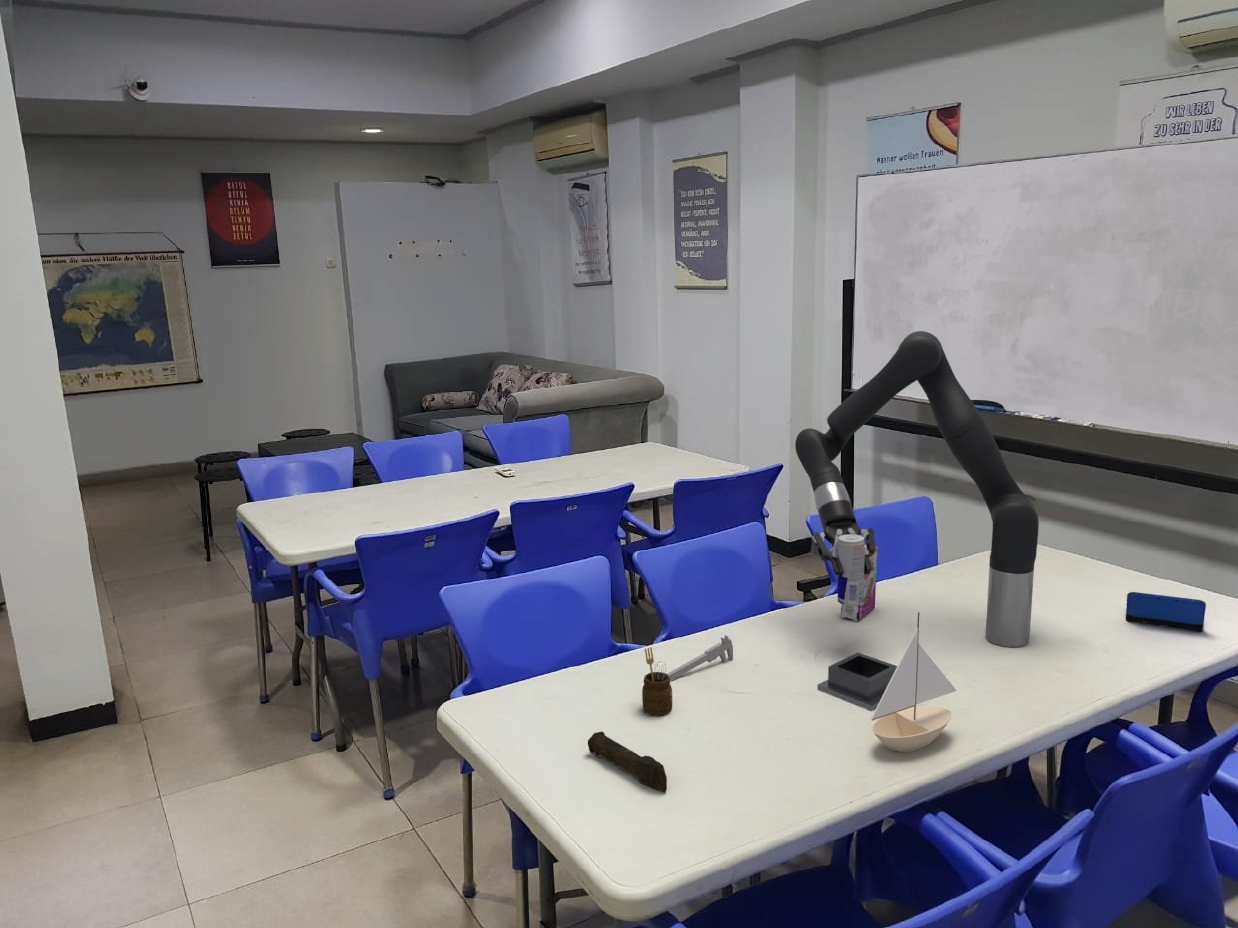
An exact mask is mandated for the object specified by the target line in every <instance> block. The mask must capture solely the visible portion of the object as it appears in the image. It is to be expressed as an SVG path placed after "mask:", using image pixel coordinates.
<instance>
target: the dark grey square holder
mask: <svg viewBox="0 0 1238 928" xmlns="http://www.w3.org/2000/svg"><path fill="white" fill-rule="evenodd" d="M897 666H898V665H896V664H892V663H889V662H888V661H887V662H886V661H885V660H880V659H878V658H875V657H874V656H873V657H872V656H870V655H867V654H863V653H860V652H855V653H853V654H851V655H849V656H847V657H845V658H843V659H842V660H839V661H837V662H834V663H832V664H831V665H829V666H828V669H827V677H828V678H827V679H826V680H824V681H821V683H818V684H817V690H818V691H822V693H823V692H824V693H826V694H828V695H831V696H834V697H836V698H837V699H838V698H839V699H841V700H844V701H846V702H849V703H851V704H853V705H857V706H859V707H861V708H864V709H866V710H869V711H871V712H872V711H873V710H874V711H875V710H876V708H877V706H878V704H879V702H880V700H881V698H882V696H883V694H884V692H885V690H886V688H887V686H888V684H889V682H890V680H891V678H892V676H893V674H894V672H895V670H896V668H897Z"/></svg>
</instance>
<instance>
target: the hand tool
mask: <svg viewBox="0 0 1238 928" xmlns="http://www.w3.org/2000/svg"><path fill="white" fill-rule="evenodd" d="M587 747H588V751H589V753H590V754H594V755H595V757H602V758H603V759H605V760H607V761H609V762H610V763H612V764H614V766H617V767H619V768H620V769H622V770H624V771H626V772H628V773H629V774H630V775H632V776H634V777H636V779H637V780H638V783H639V784H641V785H643V786H645V787H647V788H650V789H653V790H657V791H660V792H662V793H663V792H664V793H665V792H667V789H668V788H667V787H668V786H667V784H668V777H667V774H666V771H665V767H664V765H663V764H662V763H661V762H660V761H657V760H656V759H655V758H654V757H653V756H650V755H643V756H641V755H639V754H638V753H635V752H634V751H633V750H631V749H629V748H627V747H625V746H623V745H622V744H621V743H619V742H617V741H615V740H613V739H612V738H610V737H609V736H607V735H606V734H605V732H604V731H598V732H597V731H596V732H594V733H593V734H592V735H591V737H589V739H588V740H587Z"/></svg>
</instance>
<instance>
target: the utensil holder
mask: <svg viewBox="0 0 1238 928" xmlns="http://www.w3.org/2000/svg"><path fill="white" fill-rule="evenodd" d="M644 653H645V661H646V664H647V665H649V670H650V672H649V673H647V674H645V675H644V678H643V686H642V689H641V690H642V691H641V693H642V695H641V696H642V697H641V698H642V699H641V701H642V710H643V712H644V713H645V714H647V715H649V716H652V717H663V716H666V715H668V714H670V713H671V711H672V709H673V690H672V689H673V687H672V685H671V681H670V677H669V675H668V674H667V672H665V671H664V670H667V665H666V663H665V662H663V661H657V662H656V663H655V664H654V662H655V659H654V652H653V648H652V646H650V647H647V648H644ZM653 664H654V665H655V666H656V667H654V669H653V666H652V665H653ZM659 665H663V666H664V668H665V669H664V668H661V670H660V671H657V668H659V669H660V666H659ZM658 666H659V667H658ZM653 670H654V671H653Z"/></svg>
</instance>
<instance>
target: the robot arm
mask: <svg viewBox="0 0 1238 928" xmlns="http://www.w3.org/2000/svg"><path fill="white" fill-rule="evenodd" d="M916 381H917V383H918V384H919V385H920V387H921V388H922V390H923V392H924V394H925V395H926V397H927V399H928V402H929V405H930V408H931V410H932V413H933V418H934V419H935V422H936V425H937V427H938V429H939V432H940V434H941V436H942V438H943V440H944V442H945V443H946V445H947V447H948V449H949V450H950V452H951V454H952V455H953V456H954V458H955V460H956V461H957V463H958V464H959V465H960V467H962V469H963V470H964V471H965V473H967V474H968V476H969V477H970V478H971V480H973V482H974V483H975V484H976V486H977V489H978V490H979V491H980V493H981V496H982V497H983V500H984V503H985V504H986V506H987V508H988V509H987V510H988V513H989V514H990V517H991V521H992V533H991V549H990V555H989V563H988V564H989V566H988V585H987V586H988V587H987V588H988V589H987V601H986V602H987V603H986V619H985V622H986V623H985V635H984V636H985V639H986V640H987V641H988V642H989V643H992V644H994V645H998V646H1002V647H1007V648H1009V647H1010V648H1019V647H1024V646H1027V645H1029V643H1030V637H1031V624H1032V623H1031V621H1032V610H1033V609H1032V608H1033V606H1032V605H1033V592H1034V591H1033V589H1034V573H1035V562H1036V559H1037V554H1038V553H1037V552H1038V551H1037V549H1038V540H1039V539H1038V538H1039V529H1040V527H1039V525H1040V523H1039V516H1038V514H1037V511H1036V508H1035V506H1034V505H1033V503H1032V502H1031V501H1030V500H1029V498H1028V497H1027V496H1026V495H1025V493H1024V492H1023V491H1022V489H1021V488H1020V487H1019V485H1018V484H1017V482H1016V481H1015V479H1014V478H1013V477H1012V475H1011V473H1010V472H1009V470H1008V468H1007V466H1006V463H1005V461H1004V458H1003V455H1002V454H1001V451H1000V448H999V446H998V444H997V442H996V440H995V437H994V436H993V433H992V432H991V430H990V428H989V427H988V425H987V423H986V422H985V420H984V418H983V416H982V415H981V413H980V412H979V410H978V409H977V407H976V406H975V404H974V402H973V401H972V399H971V398H970V396H969V395H968V394H967V392H966V391H965V389H964V388H963V386H962V385H961V383H960V382H959V381H958V379H957V378H956V376H955V373H954V371H953V370H952V367H951V365H950V363H949V360H948V357H947V356H946V352H945V351H944V349H943V345H942V343H941V342H940V340H939V338H937V336H935V335H934V334H932V333H931V332H928V331H923V330H920V331H919V330H917V331H914V332H911V333H910V334H908V335H907V336H905V338H903V340H902V341H901V342H900V344H899V345H898V348H897V350H896V351H895V353H894V354H893V355H892V356H891V358H890V359H889V361H888V362H887V363H885V365H884V366H883V367H882V368H881V369H880V370H879V371H878V373H877V374H875V375H874V376H873V377H872V378H871V379H870V380H868V381H867V382H865V384H863V385H862V386H860V388H858V389H857V390H855V391H854V392H852V394H851V395H850V396H848V397H847V398H846V399H844V401H842V403H841V404H839V405H838V406H837V407H835V409H834V410H833V411H832V412H830V413H829V415H828V416H827V418H826V422H827V425H828V426H829V429H828V430H827V431H826V432H825V433H823V432H821V431H819V430H818V429H815V428H804V429H803V430H801V431H800V432H799V433H798V434H797V436H796V438H795V442H794V443H795V444H794V447H795V453H796V455H797V458H798V461H800V464H801V465H802V467H803V469H804V471H805V473H806V474H807V476H808V477H809V481H810V484H811V488H812V491H813V494H814V501H815V508H816V510H817V513H818V516H819V520H820V523H821V527H822V529H823V532H819V531H816V532H814V533H813V536H812V538H811V542H812V543H813V546H814V547H815V549H816V551H817V554H818V555H819V557H820V560H822V561H823V562H824V561H829V562H830V564H831V568H832V571H833V574H834V575H835V576H837V578H838V577H842V575H843V569H842V566H841V562H840V560H839V558H838V540H839V537H840V536H842V535H848V534H852V535H860V536H862V537H864V541H865V545H866V548H865V558H864V574H865V575H868V574H869V573H870V571H871V569H872V565H871V562H870V559H869V556H870V557H871V556H872V555H873V553H874V552H875V551H876V547H877V546H876V541H875V533H874V531H875V530H874V529H873V527H868V528H867V529H864V528H861V527H860V526H859V525H858V523H857V519H856V515H855V512H854V509H853V505H852V502H851V499H850V496H849V492H848V491H847V489H846V485H845V484H844V481H843V477H842V475H841V471H840V469H839V467H838V465H836V464H835V463H834V462H833V461H834V460H835V459H837V457H838V456H839V455H840V453H841V452H842V450H843V449H844V448H845V446H846V445H847V444H848V442H849V440H850V438H852V436H853V435H854V434H855V433H856V432H858V431H859V429H862V427H863V426H864V425H866V423H867V422H868V421H869V420H871V419H872V418H873V417H874V416H875V415H876V414H877V413H878V412H880V410H881V409H882V408H883V407H884V406H885V405H886V404H887V403H889V402H890V400H892V399H893V398H894V397H896V395H898V394H899V393H901V391H904V389H906V388H907V387H908V386H910V385H912V384H913V383H915V382H916ZM825 540H826V541H827V542H828V543H830V544H831V545H830V552H829V550H828V548H827V544H826V543H825ZM875 546H876V547H875Z"/></svg>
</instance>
